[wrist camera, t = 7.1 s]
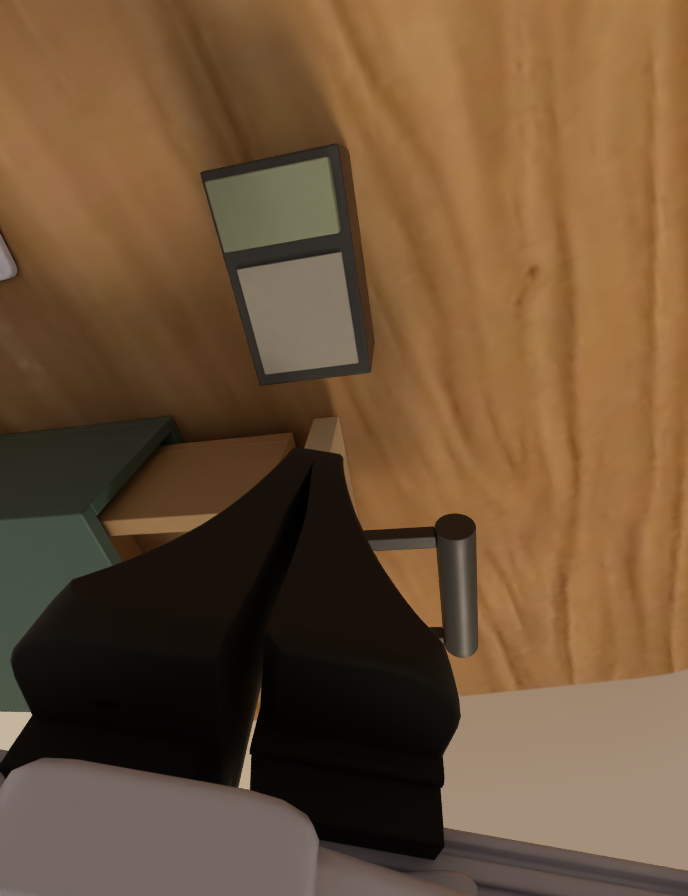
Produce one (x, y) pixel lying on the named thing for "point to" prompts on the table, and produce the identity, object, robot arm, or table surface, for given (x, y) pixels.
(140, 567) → the robot arm
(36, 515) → the cabinet
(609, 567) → the table surface
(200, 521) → the drawer
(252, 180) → the dark rectangular block
